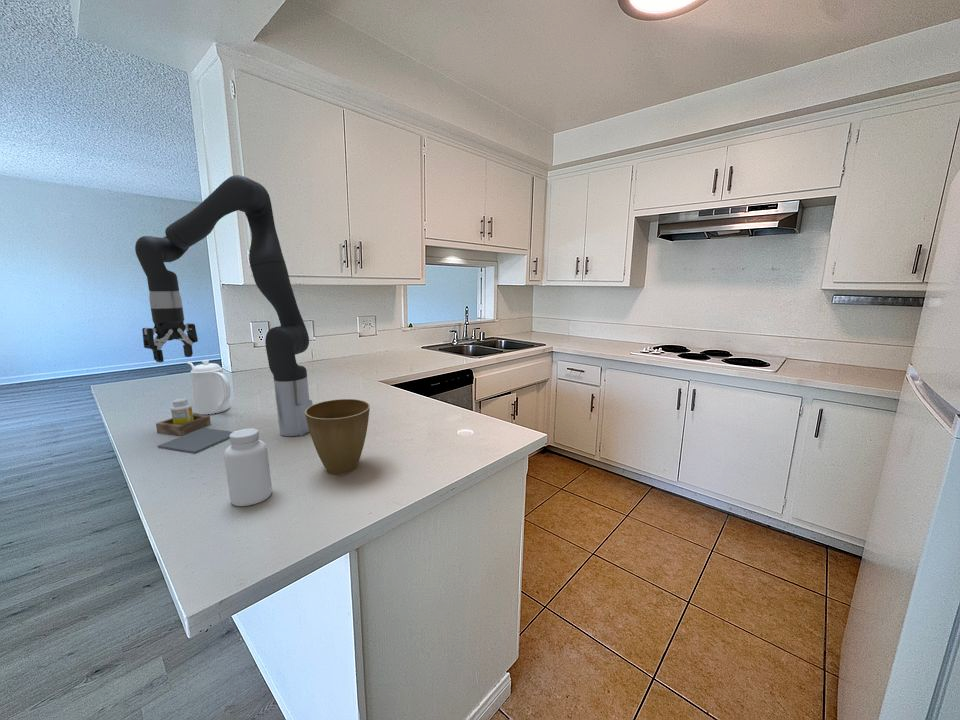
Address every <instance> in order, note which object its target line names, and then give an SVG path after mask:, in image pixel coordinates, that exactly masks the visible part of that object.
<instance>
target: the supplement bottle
mask: <svg viewBox="0 0 960 720" xmlns="http://www.w3.org/2000/svg"><path fill="white" fill-rule="evenodd" d="M170 412H171V416H172V418H173V424H177V425H182V424H184V423H187V422H190V421H193V420H194V418H193V414H194V413H193V412H194V411H193V407H192V404H191V403H189V400H188V398H187V397H185V398H183V397H181V398H177V399H174V400H172V406H171V407H170Z"/></svg>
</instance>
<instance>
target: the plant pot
mask: <svg viewBox="0 0 960 720" xmlns="http://www.w3.org/2000/svg"><path fill="white" fill-rule="evenodd" d="M370 407H371V406H370V403H369V402H367V401H365V400H361V399H357V398H356V399H355V398H342V399H341V398H340V399H339V398H338V399H330V400H324V401H319V402H317V403H313V405H312V406H310V407H308V408H307V409H306V410H305V416H306V420H307V424H308V428H309V431H310V432H309V434H310V438H311V440H312V443H313V445H314V448H315V450H316V453H317V454H318V457H319V460H320V462H321V463H322V465H323V467H324V469H325V470H326V472H327V473H328V474H330V475H335V476H336V475H337V476H338V475H345V474H349V473H351V472H353V471H355V470H356V469H357V467H358V465H359V462H360V459H361V456H362V453H363V449H364V446H365V443H366V441H365V440H366V437H367V432H368V427H369V426H368V425H369V418H370Z"/></svg>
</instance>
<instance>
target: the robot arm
mask: <svg viewBox="0 0 960 720" xmlns="http://www.w3.org/2000/svg"><path fill="white" fill-rule="evenodd" d="M237 211H239V212H243V213H244V214H245V216H246V219H247V222H248V225H249V229H250V234H251V241H250V246H249V254H248V261H249V268H250V270H251V274H252V277H253V280H254V283H255V285H256V286H257V288H258V289H259V292H260V293H262V295H263V296H264V297H265V298H266V300H267V301H268V302H269V303H270V304H271V306H272V307H273V309H274V310H275V312H276V314H277V317H278V320H279V324H280V325H279V326H275V327H272V328H270V329H269V330H268V331H267V333H266V335H265V341H264V343H265V351H266V356H267V360H268V361H267V362H268V367H269V370H270V372H271V373H272V376H273V377H272V378H273V384H274V393H275V403H276V409H277V410H276V411H277V421H278V428H279V434H280V436H284V437H296V436H298V437H299V436H301V437H302V436H304V435H306V434H308V433H310V431H309V428H308V424H307V420H306V416H305V410H306V409H307V408H308V407H310V406H312V405H314V403H313V399H312V400H311V399H310V393H309V391H310V390H309V382H308V371H307V368H306V367H305V366H303V365H299V364H298V363H297V358H296V355H299V354H303V353H304V352H306V351H307V350H308V347H309V345H310V336H309V333H308V330H307V327H306V324H305V322H304V319H303V317H302V315H301V311H300V310H299V306H298V304H297V300H296V297H295V294H294V290H293V286H292V283H291V280H290V275H289V271H288V268H287V264H286V261H285V258H284V254H283V252H282V247H281V244H280V240H279V236H278V233H277V229H276V224H275V219H274V218H275V217H274V212H273V206H272V202H271V197H270V195H269V192H268V190H267V189H266V187H264V186H263V185H262V184H261V183H259V182H257V181H255V180H253V179H250V178H249V177H246V176H244V175H238V174H235V175H231V176H229V177H228V178H227V179H225V180H224V181H223V182H222V183H221V184H219V186H217V187H216V189H214V190H213V191H212V192H211V193H210V194H209V195H208V196H207V197H206V198H205V199H204V200H202V202H200V203H199V204H198V205H197V206H195V208H193V209H192V210H191V211H189V212H188V213H187V214H185V215H183V216H182V217H180V218H178V219H177V220H175V221H174V222H172V223H171V224H169V225H168V226H167V227H166V228H165V232H164V234H165V236H162V237H159V236H152V235H151V236H150V235H144V236H141V237H139V238H138V239H137V240H136V242H135V247H134V252H135V255H136V257H137V259H138V262H139V265H140V266H141V268H142V271H143V272H144V274H145V276H146V278H147V279H146V281H147V287H148V292H149V296H148V300H149V306H150V311H151V312H150V313H151V319H152V320H151V321H152V323H153V325H154V326H153V327H152V328H151V327H150V328H149V327H143V328H142V329H141V330H142V331H141V332H142V339H143V341H142V342H143V348H145V349H148V350H149V349H150V350H151V351H152V356H153V360H154V361H156V363H164V362H165V359H164V354H163V349H162V348H163V346H164V345H165V344H166V343H167V341H168V342H169V341H173V340H178V341H179V342H181V343H182V344H183V346H182V347H183V353H184V357H186V358H191V357H192V356H193V354H194V352H193V344H194V343H198V341H199V340H198V339H199V338H198V334H197V330H196V324H195V323H188V322H187V323H185V322H184V321H185V315H184V308H183V301H182V300H183V299H182V297H181V293H180V287H179V280H178V276H177V274H176V273H175V272H174V271H171V270H168V269H167V267H166V265H165V263H172V262H175V261H177V260H179V259H180V258H182V257H183V255H184V254H185V253H186V252H187V251H188V250H189V248H190V247H192V246H194V245H196V244H197V243H199V242H201V241H202V240H203V239H205V238H206V237H207V236H209V235H210V234H211V232H212V231H213V230H214V228H215V226H216V225H217V223H218V222H220V220H221V219H222V218H224V217H225V216H227V215H229V214H231V213H234V212H237ZM185 331H186V333H185ZM155 334H156V335H155ZM154 336H155V337H154Z"/></svg>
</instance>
